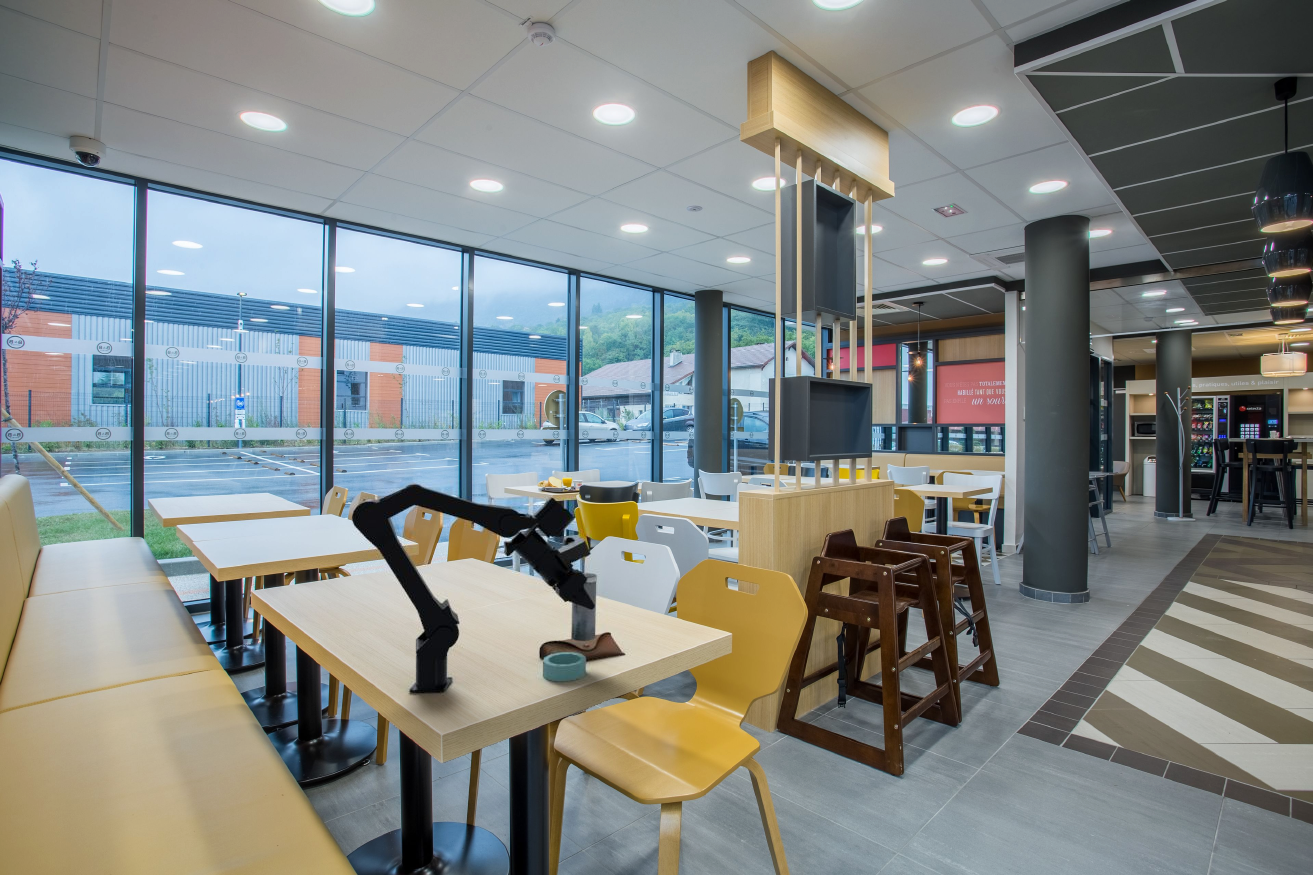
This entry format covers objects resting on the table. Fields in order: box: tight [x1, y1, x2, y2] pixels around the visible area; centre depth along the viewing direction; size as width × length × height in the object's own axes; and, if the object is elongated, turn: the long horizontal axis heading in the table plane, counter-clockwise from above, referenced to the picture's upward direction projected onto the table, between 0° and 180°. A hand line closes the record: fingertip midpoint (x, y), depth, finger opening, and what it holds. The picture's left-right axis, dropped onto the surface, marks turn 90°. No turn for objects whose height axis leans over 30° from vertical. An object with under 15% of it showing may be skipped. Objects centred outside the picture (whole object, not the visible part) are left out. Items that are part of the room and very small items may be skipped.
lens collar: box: [542, 652, 587, 682], centre depth 130 cm, size 9×9×3 cm
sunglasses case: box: [538, 631, 626, 662], centre depth 141 cm, size 18×7×7 cm
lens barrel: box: [570, 572, 598, 641], centre depth 133 cm, size 5×5×13 cm
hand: (590, 604), depth 134 cm, fingers closed on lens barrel, 5 cm apart
